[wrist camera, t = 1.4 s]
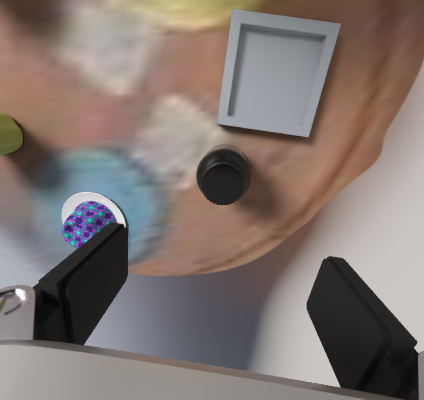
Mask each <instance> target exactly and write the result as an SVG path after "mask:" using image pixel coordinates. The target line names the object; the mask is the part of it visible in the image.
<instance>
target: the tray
mask: <svg viewBox="0 0 424 400" xmlns="http://www.w3.org/2000/svg"><path fill="white" fill-rule="evenodd" d="M340 26H341V24H340V23H332V22H325V21H318V20H311V19H303V18H296V17H289V16H281V15H274V14H267V13H259V12H252V11H245V10H237V9H232V16H231V23H230V31H229V38H228V45H227V53H226V60H225V68H224V75H223V82H222V90H221V97H220V104H219V112H218V119H217V124H222V125H228V126H235V127H242V128H249V129H256V130H263V131H270V132H277V133H283V134H290V135H297V136H304V137H309V134H310V130H311V127H312V123H313V120H314V116H315V113H316V109H317V106H318V102H319V99H320V96H321V92H322V89H323V85H324V82H325V78H326V75H327V71H328V68H329V64H330V61H331V57H332V54H333V50H334V47H335V43H336V40H337V36H338V33H339V29H340Z"/></svg>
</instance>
